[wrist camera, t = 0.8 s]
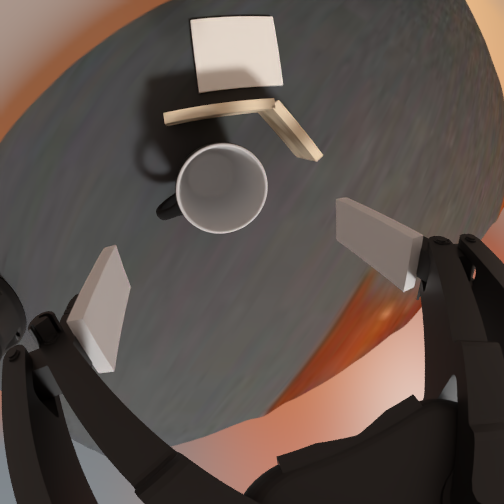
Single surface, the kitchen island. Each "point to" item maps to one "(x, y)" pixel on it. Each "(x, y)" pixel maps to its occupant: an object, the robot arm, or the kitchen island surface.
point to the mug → (218, 188)
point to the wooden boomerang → (268, 111)
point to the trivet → (235, 53)
